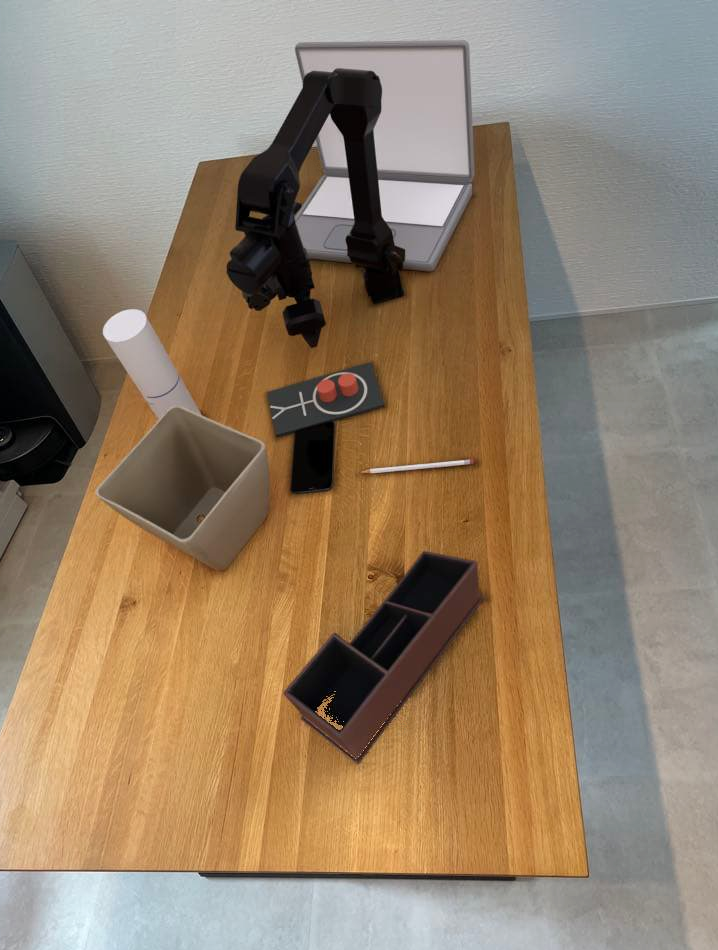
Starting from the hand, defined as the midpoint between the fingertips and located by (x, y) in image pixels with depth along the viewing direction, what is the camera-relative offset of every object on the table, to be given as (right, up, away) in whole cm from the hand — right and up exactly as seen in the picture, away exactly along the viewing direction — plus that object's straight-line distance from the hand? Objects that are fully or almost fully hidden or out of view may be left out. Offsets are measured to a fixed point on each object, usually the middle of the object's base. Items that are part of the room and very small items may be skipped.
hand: (309, 329), depth 118 cm
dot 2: (+7, -9, +5) cm, 13 cm away
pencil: (+18, -25, -6) cm, 31 cm away
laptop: (+12, +32, +30) cm, 46 cm away
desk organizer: (+14, -53, -22) cm, 59 cm away
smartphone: (+1, -22, 0) cm, 23 cm away
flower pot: (-15, -35, -5) cm, 38 cm away
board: (+2, -11, +6) cm, 13 cm away
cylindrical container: (-23, -16, +9) cm, 30 cm away
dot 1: (+3, -10, +5) cm, 12 cm away
